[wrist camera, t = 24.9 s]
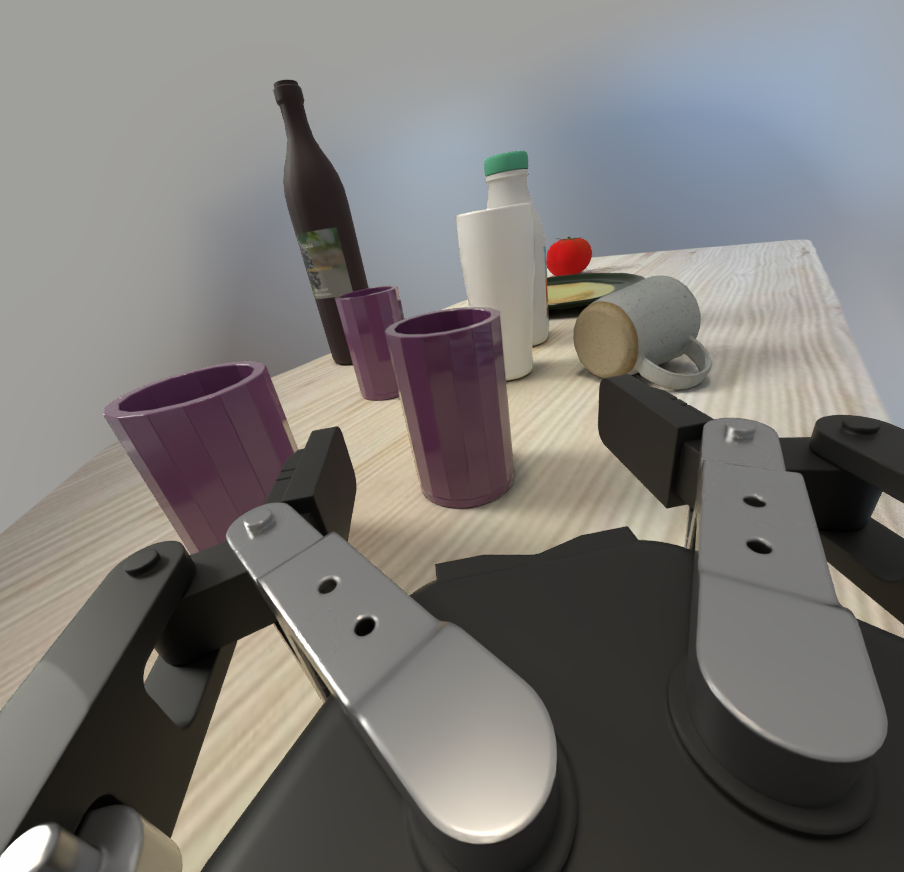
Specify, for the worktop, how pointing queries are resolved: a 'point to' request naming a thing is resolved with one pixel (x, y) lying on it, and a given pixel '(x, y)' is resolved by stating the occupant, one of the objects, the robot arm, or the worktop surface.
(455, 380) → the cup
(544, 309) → the milk bottle
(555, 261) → the tomato
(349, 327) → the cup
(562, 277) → the plate
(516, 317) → the drinking glass
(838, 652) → the robot arm
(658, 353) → the ceramic mug
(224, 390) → the pair cup
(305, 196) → the wine bottle
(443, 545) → the worktop surface
